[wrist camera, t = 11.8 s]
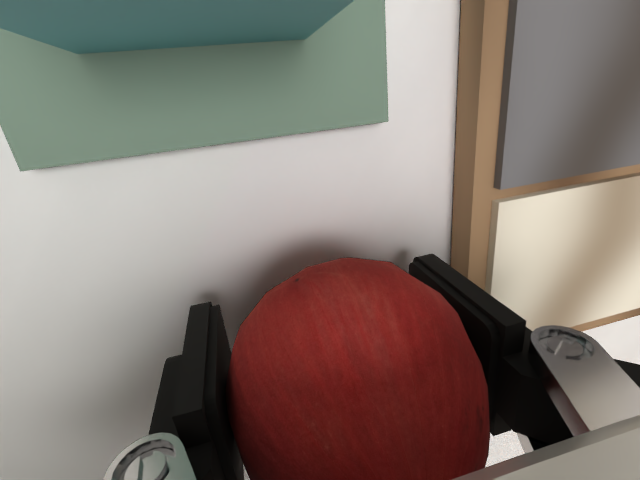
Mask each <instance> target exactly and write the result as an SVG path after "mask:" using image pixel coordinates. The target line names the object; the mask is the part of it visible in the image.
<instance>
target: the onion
mask: <svg viewBox="0 0 640 480" xmlns="http://www.w3.org/2000/svg"><path fill="white" fill-rule="evenodd" d="M225 393H226V404H227V411H228V419H229V422H230V425H231V429H232V432H233V435H234V438H235V441H236V444H237V447H238V450H239V453H240V456H241V459H242V462H243V464H244V466H245V469H246V471H247V473H248V476H249V478H250V480H452V479H455V478H457V477H460V476H463V475H466V474H469V473H472V472H475V471H477V470H480V469H483V468H485V465H486V461H487V457H488V452H489V440H490V423H489V401H488V386H487V382H486V379H485V375H484V371H483V368H482V364H481V362H480V360H479V358H478V356H477V354H476V352H475V350H474V348H473V346H472V344H471V342H470V340H469V338H468V335H467V333H466V331H465V329H464V326H463V324H462V322H461V320H460V317H459V315H458V313H457V312H456V311H455V309H454V308H453V307H452V306H451V305H450V304H449V303H448V302H447V300H446V299H445V298H444V297H443V296H442V295H441V294H440V293H439V292H437V291H436V290H434V289H432V288H431V287H429V286H428V285H426V284H424V283H423V282H421V281H419V280H418V279H416V278H415V277H413V276H411V275H410V274H408V273H407V272H405V271H404V270H402V269H401V268H399V267H398V266H396V265H394V264H393V263H391V262H386V261H377V260H368V259H359V258H340V259H336V260H332V261H328V262H324V263H321V264H317V265H313V266H309V267H306V268H305V269H303V270H302V271H300V272H298V273H297V274H295V275H293V276H292V277H290V278H289V279H287V280H285V281H284V282H282V283H280V284H279V285H277V286H276V287H274V288H272V289H271V290H269V291H268V292H266V294H265V295H264V296H263V297H262V299H261V300H260V301H259V303H258V304H257V305H256V306H255V308H254V309H253V310H252V311H251V313H250V314H249V315H248V316H247V318H246V319H245V320H244V321H243V323H242V324H241V325H240V327H239V330H238V333H237V336H236V339H235V342H234V345H233V349H232V354H231V360H230V366H229V371H228V377H227V382H226V388H225Z"/></svg>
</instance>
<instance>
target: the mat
mask: <svg viewBox="0 0 640 480" xmlns="http://www.w3.org/2000/svg"><path fill="white" fill-rule="evenodd" d="M382 122H388V93H387V60H386V27H385V0H354V1H353V2H352V3H350V4H349V5H348V6H347V7H345V8H344V9H343V10H342V11H340V12H339V13H338V14H337V15H335V16H334V17H333V18H332V19H330V20H329V21H328V22H327V23H325V24H324V25H323V26H322V27H320V28H319V29H318V30H317V31H315V32H314V33H313V34H312V35H310V36H309V37H308V38H307V39H302V40H286V41H271V42H255V43H240V44H224V45H209V46H193V47H178V48H163V49H147V50H132V51H116V52H101V53H85V54H76V53H73V52H70V51H67V50H64V49H61V48H58V47H55V46H52V45H49V44H46V43H43V42H40V41H37V40H34V39H31V38H28V37H25V36H22V35H19V34H16V33H13V32H10V31H7V30H4V29H1V28H0V125H1V127H2V130H3V132H4V134H5V137H6V139H7V141H8V144H9V146H10V148H11V151H12V153H13V155H14V158H15V160H16V162H17V165H18V167H19V169H20V171H26V170H34V169H41V168H49V167H56V166H63V165H71V164H78V163H86V162H93V161H100V160H108V159H115V158H123V157H130V156H137V155H145V154H152V153H160V152H167V151H174V150H182V149H189V148H197V147H204V146H211V145H219V144H226V143H234V142H241V141H248V140H256V139H263V138H271V137H278V136H285V135H293V134H300V133H308V132H315V131H322V130H330V129H337V128H345V127H352V126H359V125H367V124H374V123H382Z"/></svg>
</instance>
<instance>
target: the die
mask: <svg viewBox="0 0 640 480" xmlns="http://www.w3.org/2000/svg"><path fill="white" fill-rule="evenodd" d="M353 1H354V0H0V28H1V29H4V30H7V31H10V32H13V33H16V34H19V35H22V36H25V37H28V38H31V39H34V40H37V41H40V42H43V43H46V44H49V45H52V46H55V47H58V48H61V49H64V50H67V51H70V52H73V53H76V54H85V53H101V52H116V51H132V50H147V49H163V48H178V47H193V46H209V45H224V44H240V43H255V42H271V41H286V40H302V39H307V38H308V37H309V36H310V35H312V34H313V33H314V32H315V31H317V30H318V29H319V28H320V27H322V26H323V25H324V24H325V23H327V22H328V21H329V20H330V19H332V18H333V17H334V16H335V15H337V14H338V13H339V12H340V11H342V10H343V9H344V8H345V7H347V6H348V5H349V4H350V3H352V2H353Z"/></svg>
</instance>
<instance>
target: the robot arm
mask: <svg viewBox="0 0 640 480" xmlns="http://www.w3.org/2000/svg"><path fill="white" fill-rule="evenodd" d="M409 274H410V275H411V276H413V277H415V278H416V279H418V280H419V281H421V282H423V283H424V284H426V285H428V286H429V287H431V288H432V289H434V290H436V291H437V292H439V293H440V294H441V295H442V296H443V297H444V298H445V299H446V300H447V302H448V303H449V304H450V305H451V306H452V307H453V308H454V309H455V311H456V312H457V313H458V315H459V317H460V320H461V322H462V324H463V326H464V329H465V331H466V333H467V335H468V338H469V340H470V342H471V344H472V346H473V348H474V350H475V352H476V354H477V356H478V358H479V360H480V362H481V364H482V368H483V371H484V375H485V379H486V382H487V386H488V401H489V423H490V433H491V434H492V435H493V436H495V435H498V434H501V433H504V432H507V431H510V430H511V429H512V430H513V431H514V432H516V433H517V435H518V439H519V441H520V443H521V445H522V448H523V450H524V452H525V454H523V455H520V456H517V457H514V458H512V459H509V460H506V461H503V462H500V463H497V464H494V465H492V466H489V467H486V468H483V469H480V470H477V471H475V472H472V473H469V474H466V475H463V476H460V477H457V478H455V479H452V480H640V365H639V364H634V363H630V362H625V361H621V360H616V359H613V358H612V357H611V356H610V355H609V354H608V353H607V352H606V351H605V350H604V349H603V348H602V346H601V345H600V344H599V343H598V342H597V341H595V340H594V339H593V338H592V337H590V336H588V335H587V334H585V333H583V332H581V331H578V330H575V329H573V328H569V327H564V326H556V325H548V326H541V327H539V328H536V329H535V330H534V331H531V330H530V329H529V328H527V327H526V320H524V319H523V318H522V317H520V316H519V315H518V314H516V313H515V312H513V311H512V310H511V309H509V308H508V307H506V306H505V305H504V304H502V303H501V302H499V301H498V300H497V299H495V298H494V297H492V296H491V295H490V294H488V293H487V292H486V291H484V290H483V289H481V288H480V287H479V286H477V285H476V284H474V283H473V282H472V281H470V280H469V279H467V278H466V277H465V276H463V275H462V274H460V273H459V272H458V271H456V270H455V269H454V268H452V267H451V266H449V265H448V264H447V263H445V262H444V261H442V260H441V259H440V258H438V257H437V256H435V255H434V254H428V255H424V256H419V257H415V258H414V260H413V262H412V263H410V265H409ZM230 360H231V350H230V346H229V342H228V338H227V334H226V330H225V326H224V322H223V318H222V314H221V310H220V307H219V305H216V306H212V303H211V302H206V303H202V304H197V305H193V306H190V311H189V317H188V323H187V329H186V335H185V341H184V347H183V353H182V355H178V356H174V357H170V358H167V359H166V362H165V365H164V369H163V373H162V378H161V382H160V387H159V391H158V395H157V400H156V404H155V408H154V413H153V417H152V422H151V426H150V430H149V435H148V436H145V437H143V438H141V439H138V440H137V441H135V442H134V443H132V444H131V445H129V446H128V447H126V448H125V449H124V450H123V451H122V452H121V453H120V454H119V455H118V456H117V457H116V458H115V459H114V460H113V462H112V463H111V464H110V466H109V467H108V469H107V471H106V473H105V476H104V478H103V480H244V471H243V462H242V459H241V456H240V453H239V450H238V447H237V444H236V441H235V438H234V435H233V432H232V429H231V425H230V422H229V419H228V411H227V404H226V393H225V388H226V382H227V377H228V371H229V366H230Z"/></svg>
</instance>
